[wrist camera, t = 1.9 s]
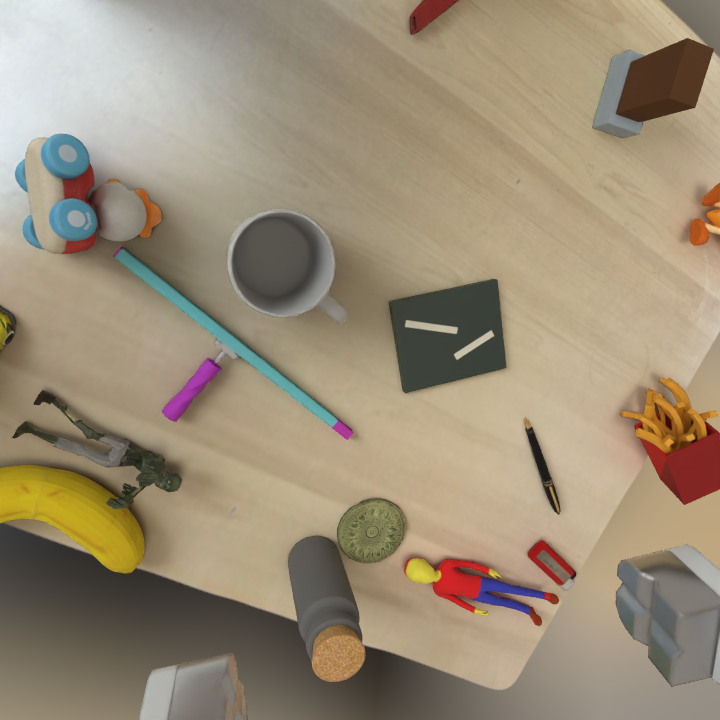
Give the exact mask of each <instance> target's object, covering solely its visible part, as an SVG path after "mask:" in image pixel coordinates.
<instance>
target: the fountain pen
mask: <svg viewBox="0 0 720 720" xmlns="http://www.w3.org/2000/svg"><path fill="white" fill-rule="evenodd" d="M525 419H526V420H525V424H526V427H527V428H526V431H527V434H528V438H529V441H530V444H531V447H532V451H533V454H534V457H535V460H536V463H537V466H538V469H539V472H540V475H541V478H542V483H543V486H544V488H545V491H546V494H547V496H548V499H549V501H550V504H551V506H552V508H553V509H554V511H555V512H556V513H557V514H558V515H559V514H560V505H559V500H558V497H557V493H556V490H555V487H554V484H553V481H552V478H551V477H550V474H549V471H548V468H547V465H546V462H545V460H544V457H543V454H542V452H541V449H540V446H539V444H538V441H537V439H536V436H535V433H534V431H533V428H532V427H531V426H530V423H529V421H528V420H527V418H526V417H525Z"/></svg>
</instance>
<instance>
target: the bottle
mask: <svg viewBox="0 0 720 720" xmlns="http://www.w3.org/2000/svg"><path fill="white" fill-rule="evenodd" d="M288 567H289V574H290V580H291V586H292V592H293V597H294V603H295V609H296V614H297V620H298V626H299V630H300V634H301V636H302V638H303V640H304V641H305V642H306V648H307V652H308V655H309V657H310V659H311V660H312V667H313V670H314V672H315V673H316V675H318V677H320V678H321V679H323V680H326V681H332V682H336V681H342V680H345V679H347V678H349V677H351V676H352V675H354V674H355V673H356V672H357V671H358V670H359V669H360V668H361V666H362V664H363V662H364V659H365V648H364V646H363V644H362V632H361V629H360V626H359V611H358V608H357V604H356V601H355V598H354V595H353V592H352V589H351V586H350V583H349V580H348V577H347V574H346V571H345V569H344V566H343V563H342V560H341V557H340V554H339V551H338V549H337V547H336V545H335V544H334V543H333V542H332V541H331V540H329V539H327V538H325V537H321V536H312V537H308V538H305V539H303V540H301V541H300V542H299V543H297V544H296V545H295V546H294V547H293V549H292V550H291V552H290V555H289V559H288Z"/></svg>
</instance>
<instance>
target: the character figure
mask: <svg viewBox="0 0 720 720" xmlns="http://www.w3.org/2000/svg"><path fill="white" fill-rule="evenodd" d="M458 567H463V568H472V569H475V570H478V571H481V572H483V573H486V574H488V575H489V574H490V575H491V576H492V577H494V578H495V579H496V580H493V579H489V578H485V577H481V576H471V575H467V574H465V573H462V572H460V571H458V570H457V569H456V568H458ZM404 571H405V574H406V576H407V577H408V578H409V579H410V580H412V581H414V582H416V583H431V582H433V589H434V592H435V594H436V595H438V596H440V597H443V598H445V599H448V600H450V601H452V602H454V603H456V604H457V605H459V606H461V607H463V608H465V609H467V610H469V611H471V612H473V613H474V614H475V613H477V614H480V615H489V614H486V613H487V612H488V611H487V612H486V610H485V611H483V610H478V609H477V608H476V607H474V606H472V605H470V604H468V603H467V602H465V601H463V600H462V599H460V598H459V597H457V596H455V595H459V596H465V597H468V598H470V599H472V600H473V601H474V600H475V601H479V602H482V603H486V604H491V605H497V606H504V607H508V608H512V609H516V610H519V611H522V612H524V613H526V614H529V616H530V617H531V619H532V620H533V622H534V623H535V625H537V626H540V625H541V624H542V620H541V617H540V616H539V615H537V614H536V613H535V611H534V609H533V608H532V607H530V606H527V605H524V604H522V603H519V602H516V601H513V600H510V599H507V598H504V597H498V596H496V595H494V594H491V593H489V592H487V591H493V592H501V593H511V594H517V595H523V596H530V597H537V598H541V599H545V600H548V601H549V602H551V603H552V604H557V603H558V602H559V599H558V597H557V595H555V594H553V593H547V592H542V591H537V590H533V589H528V588H524V587H520V586H515V585H510V584H507V583H503V582H500V581H497V578H496V577H495V576H497V577H499V578H501V579H502V577H501V576H500V575H499V574H498V573H497V572H496V571H495V570H491V568H488V567H485V566H482V565H479V564H477V563H474V562H470V561H461V560H453V559H446V560H444V561H443V562H442V563H441V565H440V566H439V567H438V568H437V570H436V571H434V569H433V568H432V567H431V566H430V565H429V564H428V562H427V561H425V560H424V559H419V558H411V559H409V560H408V561H407V563H406V565H405V569H404ZM484 612H485V613H484Z"/></svg>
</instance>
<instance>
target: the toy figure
mask: <svg viewBox="0 0 720 720" xmlns="http://www.w3.org/2000/svg"><path fill="white" fill-rule="evenodd" d="M701 203H702V205H704V206H715V207H719V208H720V183H719V184H718V185H716V186H715V187H714V188H713V189H712V190H711V191H710V192H709V193H707V194H706V195H705V196H704V198H703V199H702V202H701ZM707 217H708V219H709V220H710V221H711V223H712V224H713V225H714V226H713V225H710V224H707V223H705V222H704V221H702V220H700V219H694V220H693V222H692V224H691V228H690V242H691V243H692V244H693V245H703V244H705V243H706V242H707V241H708V239H709V232H711V233H715V234H719V235H720V209H716V210H712V211H709V212H708V213H707Z"/></svg>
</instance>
